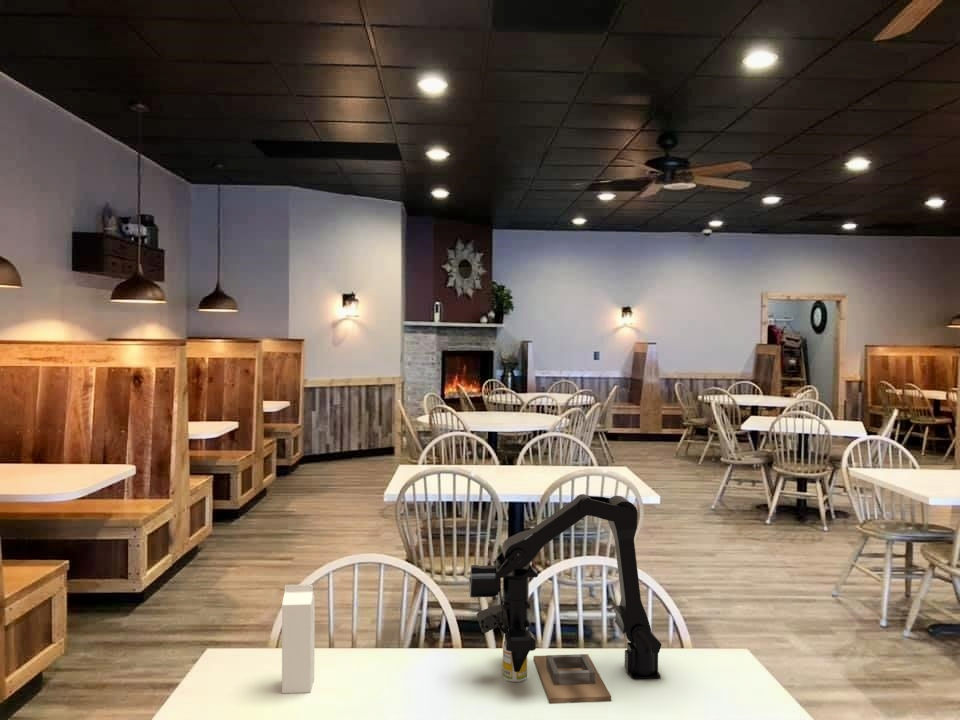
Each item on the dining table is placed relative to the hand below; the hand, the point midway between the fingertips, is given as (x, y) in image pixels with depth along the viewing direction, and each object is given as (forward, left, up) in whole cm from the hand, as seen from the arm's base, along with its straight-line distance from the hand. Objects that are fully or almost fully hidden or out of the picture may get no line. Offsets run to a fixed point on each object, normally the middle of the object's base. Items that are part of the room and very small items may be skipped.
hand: (514, 665), depth 158 cm
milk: (+47, +1, -3) cm, 47 cm away
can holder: (-12, +2, -2) cm, 12 cm away
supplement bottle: (0, 0, -3) cm, 3 cm away
